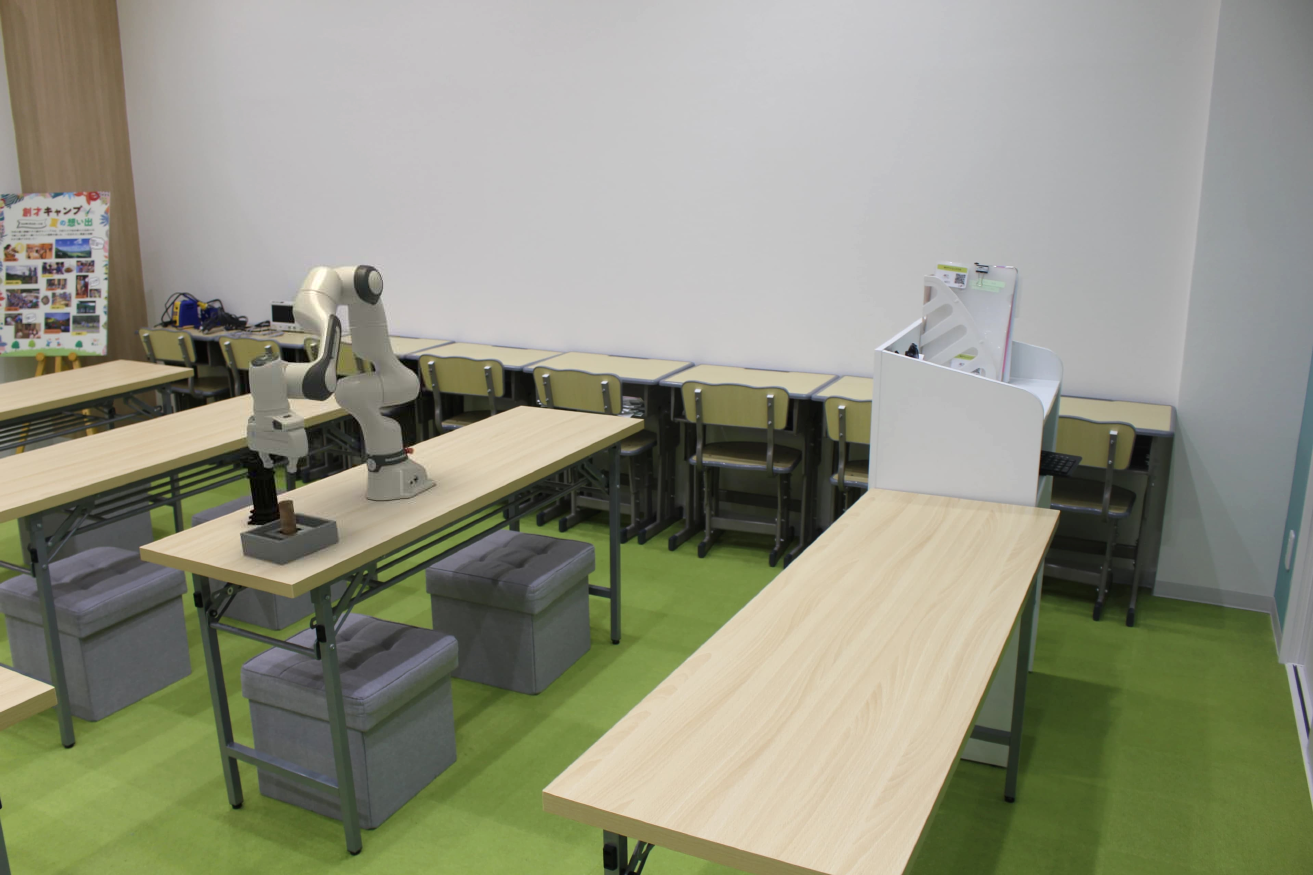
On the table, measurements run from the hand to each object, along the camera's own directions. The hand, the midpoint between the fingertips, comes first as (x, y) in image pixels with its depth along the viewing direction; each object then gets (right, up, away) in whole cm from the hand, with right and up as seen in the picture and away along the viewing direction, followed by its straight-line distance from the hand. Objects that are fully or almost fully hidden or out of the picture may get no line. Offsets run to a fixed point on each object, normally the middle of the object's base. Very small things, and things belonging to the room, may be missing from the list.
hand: (280, 469), depth 246 cm
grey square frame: (+1, -20, +5) cm, 21 cm away
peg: (+1, -20, +5) cm, 21 cm away
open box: (+1, -21, +5) cm, 22 cm away
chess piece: (-15, -16, +29) cm, 36 cm away
